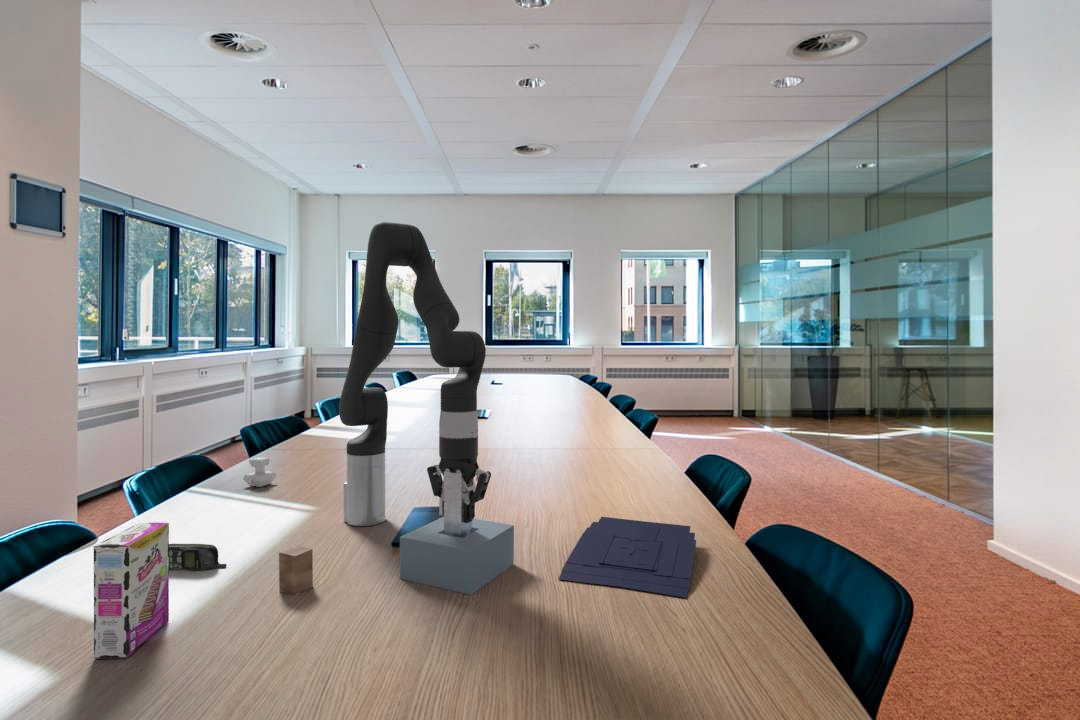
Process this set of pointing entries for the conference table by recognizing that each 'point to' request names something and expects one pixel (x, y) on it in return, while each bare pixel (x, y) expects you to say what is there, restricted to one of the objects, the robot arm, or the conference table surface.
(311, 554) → the short walnut pin
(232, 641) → the conference table surface
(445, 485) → the long steel pin
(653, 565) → the navy flat slab
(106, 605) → the candy bar box
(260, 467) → the stamp
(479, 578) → the hole block
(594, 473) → the conference table surface
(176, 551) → the mobile phone
